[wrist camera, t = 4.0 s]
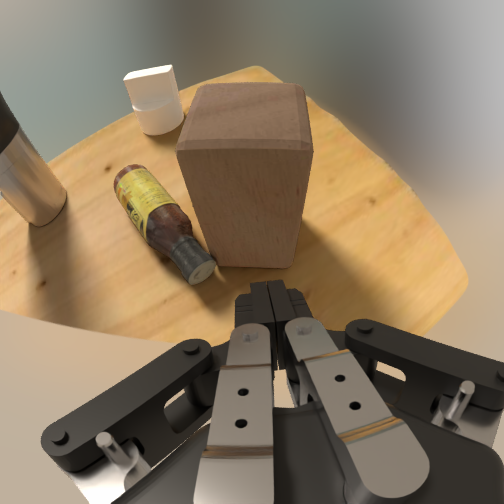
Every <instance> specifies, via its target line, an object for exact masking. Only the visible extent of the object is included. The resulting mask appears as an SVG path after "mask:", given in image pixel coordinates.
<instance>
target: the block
mask: <svg viewBox="0 0 504 504" xmlns="http://www.w3.org/2000/svg"><path fill="white" fill-rule="evenodd" d="M175 152H176V156H177V159H178V163H179V166H180V169H181V172H182V175H183V178H184V181H185V184H186V187H187V190H188V192H189V195H190V198H191V201H192V204H193V207H194V210H195V213H196V216H197V218H198V221H199V224H200V227H201V230H202V233H203V235H204V238H205V241H206V244H207V246H208V249H209V252H210V255H211V257H212V258H213V259H214V260H215V262H216V265H218V266H233V267H260V268H288V267H290V266H291V264H292V262H293V259H294V254H295V249H296V244H297V240H298V235H299V229H300V224H301V219H302V214H303V209H304V203H305V198H306V192H307V187H308V181H309V176H310V170H311V164H312V158H313V152H314V151H313V143H312V135H311V128H310V121H309V115H308V108H307V102H306V96H305V92H304V90H303V87H301V86H300V85H297V84H294V83H268V82H244V83H216V84H206V85H203V86H200V87H199V88H198V89H197V91H196V94H195V96H194V99H193V101H192V104H191V106H190V109H189V112H188V114H187V117H186V120H185V122H184V125H183V128H182V131H181V133H180V136H179V139H178V142H177V145H176V150H175Z"/></svg>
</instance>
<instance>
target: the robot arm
mask: <svg viewBox="0 0 504 504" xmlns="http://www.w3.org/2000/svg"><path fill="white" fill-rule="evenodd" d="M0 191H1V195H2V197H3V198H4V199H5V200H6V201H7V202H8V203H9V204H10V205H11V206H12V207H13V208H14V209H15V210H16V211H17V212H18V213H19V214H20V215H21V216H22V217H23V218H24V219H25V220H26V221H27V222H28V223H32V224H33V225H35V226H44V225H46V224H48V223H49V222H51V221H52V220H53V219H54V218H55V217H56V216H57V215H58V214H59V212H60V211H61V209H62V207H63V206H64V203H65V200H66V190H65V189H64V187H63V186H62V185H61V183H60V182H59V181H58V179H57V178H56V176H55V175H54V174H53V172H52V171H51V170H50V168H49V167H48V165H47V164H46V163H45V161H44V160H43V158H42V157H41V156H40V154H39V153H38V151H37V150H36V149H35V147H34V145H33V144H32V143H31V141H30V139H29V138H28V137H27V135H26V134H25V132H24V130H23V129H22V127H21V126H20V124H19V123H18V121H17V120H16V118H15V117H14V115H13V113H12V112H11V111H10V108H9V107H8V105H7V103H6V102H5V100H4V98H3V96H2V94H1V92H0ZM250 288H251V294H241V295H239V296H238V297H237V298H236V300H235V329H234V330H233V331H232V333H231V336H230V340H229V341H227V342H225V343H223V344H221V345H218V346H214V347H211V346H210V344H209V343H208V342H207V341H205V340H202V339H189V340H185V341H182V342H180V343H179V344H177V345H176V346H174V347H172V348H171V349H170V350H168V351H167V352H165V353H164V354H162V355H161V356H159V357H157V358H156V359H154V360H153V361H151V362H150V363H148V364H147V365H145V366H144V367H142V368H141V369H139V370H138V371H136V372H135V373H133V374H132V375H130V376H128V377H127V378H125V379H124V380H122V381H121V382H119V383H117V384H116V385H114V386H113V387H111V388H109V389H108V390H106V391H105V392H103V393H102V394H100V395H98V396H97V397H95V398H94V399H92V400H90V401H89V402H87V403H85V404H84V405H82V406H81V407H79V408H77V409H76V410H74V411H72V412H71V413H69V414H68V415H66V416H64V417H62V418H61V419H59V420H57V421H56V422H54V423H52V424H51V425H49V426H48V427H47V428H46V429H45V430H44V432H43V434H42V436H41V445H42V448H43V449H44V451H45V452H46V453H47V454H48V455H49V456H50V457H51V458H52V459H53V460H54V461H55V462H56V464H57V465H58V467H59V468H60V469H61V470H62V471H63V472H64V473H65V474H66V475H67V476H68V477H69V478H70V479H71V480H73V481H74V483H75V484H76V485H77V487H78V488H79V489H80V491H81V492H82V493H83V495H84V496H85V497H86V499H87V500H88V501H89V503H90V504H504V465H503V463H502V460H501V458H500V457H499V455H498V454H497V453H496V452H495V451H494V450H493V449H492V446H493V442H494V439H495V436H496V433H497V429H498V426H499V422H500V418H501V415H502V412H503V411H504V363H503V362H500V361H496V360H493V359H489V358H486V357H483V356H480V355H477V354H473V353H470V352H466V351H464V350H460V349H457V348H454V347H451V346H448V345H445V344H442V343H439V342H435V341H432V340H430V339H426V338H423V337H420V336H417V335H414V334H411V333H408V332H405V331H402V330H399V329H396V328H393V327H390V326H387V325H385V324H382V323H379V322H376V321H373V320H368V319H358V320H354V321H352V322H350V323H349V324H348V325H347V326H346V329H345V331H331V330H326V329H325V328H324V326H323V325H322V323H321V322H320V321H318V320H316V319H314V318H313V316H312V314H311V312H310V310H309V307H308V305H307V303H306V301H305V299H304V296H303V294H302V293H301V292H300V291H298V290H297V289H286V287H285V285H284V282H283V280H274V281H267V285H266V281H265V282H256V283H250ZM277 360H278V365H279V370H283V369H286V373H287V385H288V388H289V391H290V394H291V398H292V400H293V404H294V407H295V408H279V407H274V386H273V380H274V378H275V376H274V371H275V370H278V366H277ZM378 361H379V362H382V363H384V364H387V365H389V366H392V367H394V368H397V369H399V370H401V371H402V372H403V373H404V374H405V376H406V381H402V380H399V379H397V378H394V377H392V376H390V375H387V374H384V373H382V372H380V371H378V370H376V367H377V362H378ZM182 389H184V391H185V393H184V394H182V395H181V396H180V397H178V398H177V399H176V400H175V401H173V402H172V403H171V404H169V405H168V406H167V407H166V408H164V406H165V404H166V402H167V401H168V400H169V399H171V398H172V397H173V396H174V395H176V394H177V393H178V392H180V391H181V390H182ZM211 417H212V419H211V423H209V424H207V425H205V426H204V427H202V428H200V427H201V426H202V425H204V424H205V423H206V422H207V421H208V420H209V419H210V418H211ZM199 428H200V429H199ZM198 429H199V430H198ZM194 432H195V433H194ZM186 439H187V440H186ZM185 440H186V441H185ZM184 441H185V442H184ZM183 442H184V443H183ZM180 444H182V445H180ZM179 445H180V446H179ZM178 446H179V447H178ZM177 447H178V448H177ZM176 448H177V449H176ZM174 449H176V450H175V451H174V452H172V451H173V450H174ZM171 452H172V453H171ZM169 453H171V454H170V455H169V456H168V457H167V458H166V459H164V460H163V461H162V462H161V463H160V464H159V465H157V466H156V467H155V468H154V469H153V470H152V471H151V468H152V467H153V466H155V465H156V464H157V463H158V462H159V461H161V460H162V459H163V458H165V457H166V456H167V455H168V454H169Z"/></svg>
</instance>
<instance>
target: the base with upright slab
mask: <svg viewBox="0 0 504 504" xmlns="http://www.w3.org/2000/svg"><path fill="white" fill-rule="evenodd" d="M124 82H125V86H126V88H127V91H128V94H129V97H130V99H131V102H132V105H133V109H134V112H135V114H136V117H137V120H138V122H139V125H140V127H141V130H142V131H143V133H145V134H147V135H161V134H164V133H167V132H170V131H172V130H173V129H175V128H176V127H178V126H179V125H180V124H181V123H182V121H183V119H184V113H183V109H182V105H181V101H180V97H179V93H178V89H177V85H176V81H175V76H174V72H173V67H172V65H167V66H161V67H156V68H150V69H144V70H140V71H135V72H130V73H128V74H127V75H126V76H125V78H124Z"/></svg>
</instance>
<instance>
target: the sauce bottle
mask: <svg viewBox="0 0 504 504" xmlns="http://www.w3.org/2000/svg"><path fill="white" fill-rule="evenodd" d="M114 190H115V193H116V196H117V198H118V200H119V201H120V203H121V204H122V206H123V207H124V209H125V211H126V212H127V214H128V215H129V217H130V218H131V220H132V221H133V223H134V224H135V226H136V227H137V229H138V230H139V231H140V233H141V234H142V236H143V237H144V239H145V240H146V242H147V243H148V244H149V246H151V247H153V248H154V249H156V250H158V251H159V252H161V253H163V254H164V255H166V256H168V257H169V258H171V260H172V261H173V262H174V263H175V264H176V265H177V267H178V268H179V269H180V270H181V272H182V275H183V277H184V278H185V279H186V281H187V282H188V283H189V284H192V285H193V284H197V283H200V282H202V281H204V280H205V279H206V278H208V277H209V276H210V275H211V273H212V272H213V271H214V269H215V267H216V262H215V260H214V259H213V258H212V257H211V255H210V254H208V253H207V252H205V251H204V250H203V249H202V247H201V246H200V245H199V244H198V242H197V240H196V239H194V238H193V232H192V224H191V221H190V219H189V218H188V216H187V215H186V214H185V213H184V212H183V211H182V210H181V209H180V206H179V205H178V204H177V203H176V202H175V200H174V199H173V198H172V197H171V196H170V195H169V194H168V192H167V191H166V190H165V189H164V188H163V187H162V185H161V184H160V183H159V182H158V181H157V180H156V178H155V177H154V176H153V175H152V174H151V173H150V172H149V171H148V170H147V169H146V168H145V167H143V166H141V165H137V164H134V165H129V166H127V167H125V168H124V169H122V170H121V171H120V172H119V173H118V174H117V176H116V178H115V180H114Z"/></svg>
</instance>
